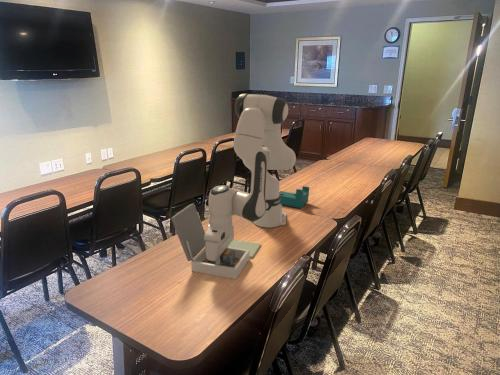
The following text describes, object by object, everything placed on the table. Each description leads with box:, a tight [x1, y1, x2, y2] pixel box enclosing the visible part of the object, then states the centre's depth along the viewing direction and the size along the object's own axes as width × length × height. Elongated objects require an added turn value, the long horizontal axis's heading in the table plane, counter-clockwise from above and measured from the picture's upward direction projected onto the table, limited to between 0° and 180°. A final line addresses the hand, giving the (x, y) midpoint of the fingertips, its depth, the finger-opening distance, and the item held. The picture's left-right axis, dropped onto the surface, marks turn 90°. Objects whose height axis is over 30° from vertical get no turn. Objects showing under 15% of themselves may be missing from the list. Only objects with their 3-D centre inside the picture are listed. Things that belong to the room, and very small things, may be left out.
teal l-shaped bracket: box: [279, 185, 310, 209], centre depth 207 cm, size 18×11×10 cm, turn 59°
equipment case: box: [186, 241, 250, 280], centre depth 139 cm, size 16×20×12 cm
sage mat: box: [228, 239, 262, 259], centre depth 154 cm, size 12×20×1 cm, turn 72°
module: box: [206, 249, 236, 268], centre depth 139 cm, size 4×10×6 cm, turn 66°
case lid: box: [170, 202, 206, 262], centre depth 140 cm, size 16×18×2 cm
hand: (221, 260), depth 140 cm, fingers closed on module, 5 cm apart
